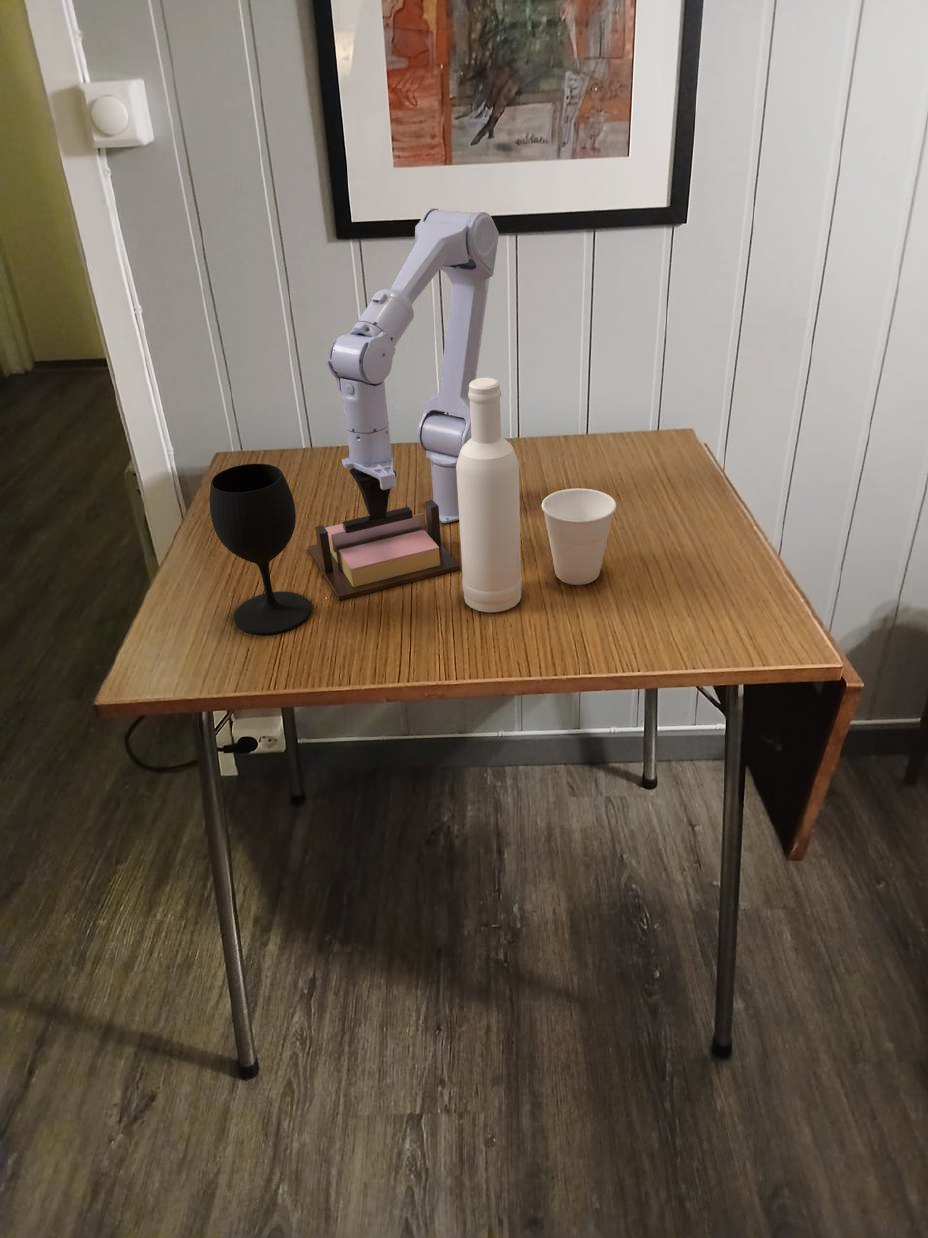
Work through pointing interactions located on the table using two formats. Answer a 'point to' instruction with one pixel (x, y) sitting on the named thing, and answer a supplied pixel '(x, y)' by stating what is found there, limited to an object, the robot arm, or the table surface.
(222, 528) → the wine glass
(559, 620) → the table surface
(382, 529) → the knife
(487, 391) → the bottle
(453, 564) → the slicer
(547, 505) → the cup
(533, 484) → the table surface
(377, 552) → the pink sponge pad
